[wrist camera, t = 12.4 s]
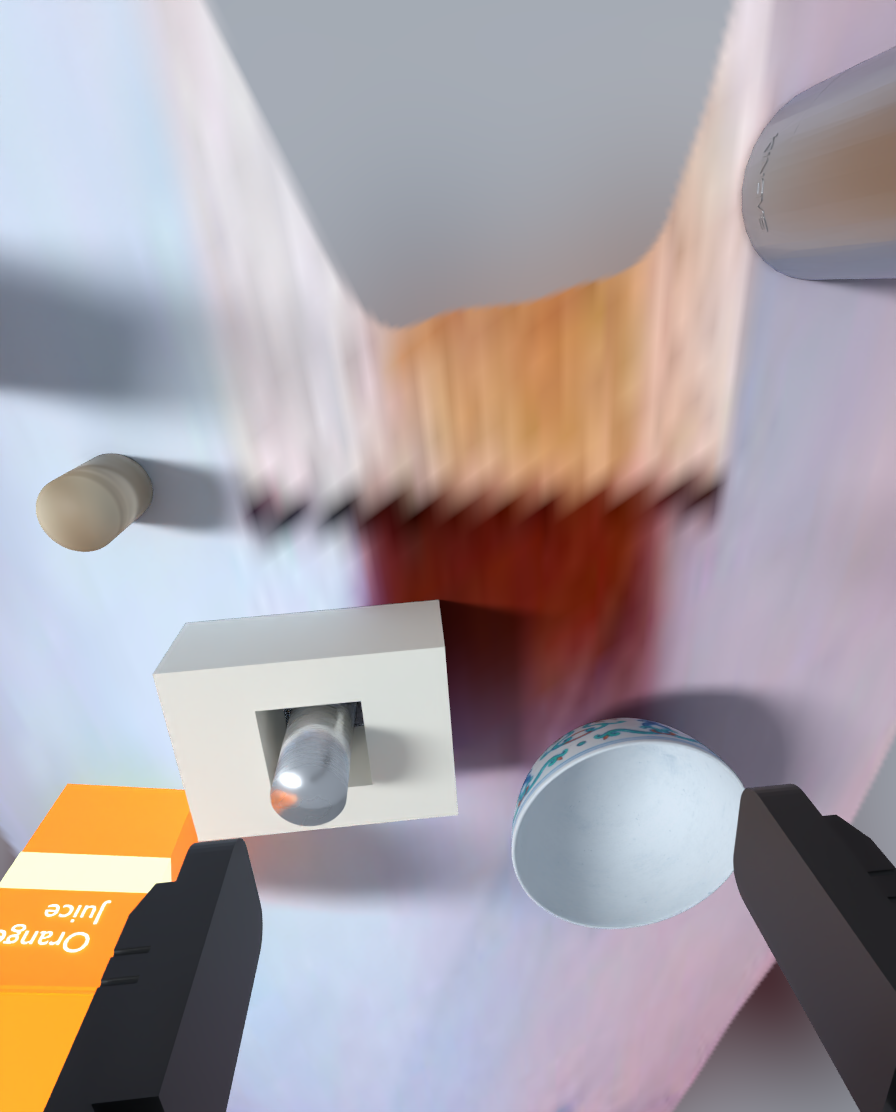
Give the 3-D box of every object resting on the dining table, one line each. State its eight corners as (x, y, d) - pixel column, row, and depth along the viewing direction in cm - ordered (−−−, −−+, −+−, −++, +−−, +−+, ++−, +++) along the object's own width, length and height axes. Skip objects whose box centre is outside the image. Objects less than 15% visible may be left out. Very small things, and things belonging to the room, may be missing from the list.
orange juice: (66, 782, 46) (-162, 1119, 27) (198, 789, 46) (65, 1119, 28) (75, 867, 48) (-127, 1226, 30) (199, 872, 49) (79, 1222, 31)
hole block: (438, 599, 42) (444, 646, 37) (451, 752, 47) (458, 814, 41) (185, 622, 42) (152, 674, 36) (223, 775, 46) (198, 841, 41)
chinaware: (696, 825, 51) (744, 912, 44) (503, 851, 51) (520, 943, 43) (704, 657, 45) (761, 726, 38) (486, 685, 45) (503, 760, 38)
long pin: (353, 662, 43) (341, 762, 34) (360, 712, 45) (351, 822, 36) (292, 667, 43) (263, 770, 34) (301, 718, 45) (276, 830, 36)
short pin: (143, 450, 37) (107, 473, 33) (159, 517, 39) (127, 548, 34) (71, 456, 37) (25, 480, 33) (91, 523, 39) (49, 555, 34)
